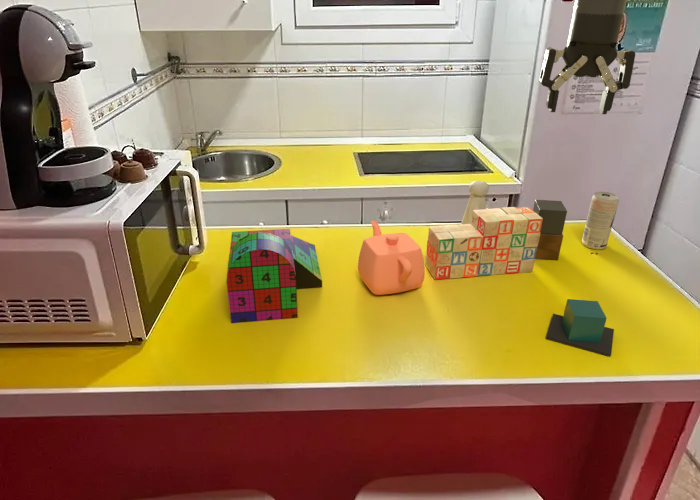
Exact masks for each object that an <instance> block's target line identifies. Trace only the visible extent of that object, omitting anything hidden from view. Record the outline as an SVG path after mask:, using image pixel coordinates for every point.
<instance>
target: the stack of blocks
mask: <svg viewBox="0 0 700 500" xmlns="http://www.w3.org/2000/svg"><path fill="white" fill-rule="evenodd" d="M542 221H543V218H542V217H540V216H539V215H538V214H537V213H535V212H534V211H533V209H531V207H529V206H517V207H516V206H506V207H505V206H504V207H493V208H485V209H482V210H473V211H472V218H471V224H461V223H460V224H446V225H445V224H444V225H433V226H431V225H430V226H428V233H427V241H426V251H425V253H426V255H425V267H426V268H427V270H428V272H429V274H430V275H431V276H432V278H433V279H434V280H445V279H461V278H470V277H482V276H494V275H495V276H497V275H505V274H506V275H509V274H510V275H511V274H522V273H523V274H524V273H532V272H533V270H534V265H535V261H536V259H535V255H536V250H537V246H538V243H539V238H540V230H541V225H542Z"/></svg>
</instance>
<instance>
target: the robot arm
mask: <svg viewBox="0 0 700 500" xmlns="http://www.w3.org/2000/svg"><path fill="white" fill-rule="evenodd" d="M627 1H628V0H575V1H574V3H573V7H572V9H573V11H572V16H571V22H570V26H569V32H568V37H567V43H566V45H565V47H564V49H557V48H553V47H551V46H549V47H547V48H546V49H545V52H544V56H543V61H542V65H541V68H540V69H541V70H540V74H539V78H538V82H539V84H540V85H542V86H543V87H546V88H547V90H548V91H547V96H546V102H545V106H546V108H547V110H548V111H549V113H556V110H557V106H558V99H559V94H560V90H559V89H560V88H561V87H562V86H563V85H564V84H565V82H567V81H569V80H570V79H571V78H572V77H573V76H575V77H576V78H583V77H589V78H597V77H599V79H600V80H601V82H602V84H603V86H604V87H605V89H604V90H602V95H601V99H600V104H599V108H598V113H599V114H600V115H607V114H608V112H610V111H611V109H612V107H613V103H614V99H615V95H616V93H617V92H618V91H621V90H626V89H629V88H630V85H631V80H632V75H633V69H634V65H635V59H636V52H635V51H634V50H633V49H632V50H631V49H625V50H617V44H618V41H619V36H620V32H621V27H622V23H623V20H624V19H623V18H624V14H625V10H626V5H627ZM561 57H562V59H563V61H564V63H565V64H564V66H563V67H561V69H560V70H559V71H558V72H557V74H556V75H555V76H554V77H553V78H552V79H551V75H552V72H553V69H554V68H553V67H554V64H556V63H558V62H559V59H560V58H561ZM616 59H617V63H618V64H620V66H619V71H618V77H617V80H616V81H615V79H614V76H613V74H612V72H611V70H610V68H609V66H611V64H612V63H613V62H614V61H616Z"/></svg>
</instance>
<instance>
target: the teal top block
mask: <svg viewBox="0 0 700 500" xmlns="http://www.w3.org/2000/svg"><path fill="white" fill-rule="evenodd" d="M562 316H563V319H562V325H563V328H564V330H565V333H566V335H567V338H568V340H572V341H584V342H596V343H600V340H601V336H602V333H603V329H604V327H606V322H607V319H608V318H607V316H606V313H605V312H604V310H603V308H602V306H601V304H600V303H599V301H598V300H588V299H586V300H585V299H573V298H567V299H566V303H565V306H564V311H563V315H562Z"/></svg>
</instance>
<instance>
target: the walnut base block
mask: <svg viewBox="0 0 700 500" xmlns="http://www.w3.org/2000/svg"><path fill="white" fill-rule="evenodd" d="M563 239H564V234H563V233H562V235H558V234H541V233H540V238H539V243H538V246H537V250H536V255H535V260H547V261H559V257H560V253H561V249H562V244H563Z"/></svg>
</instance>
